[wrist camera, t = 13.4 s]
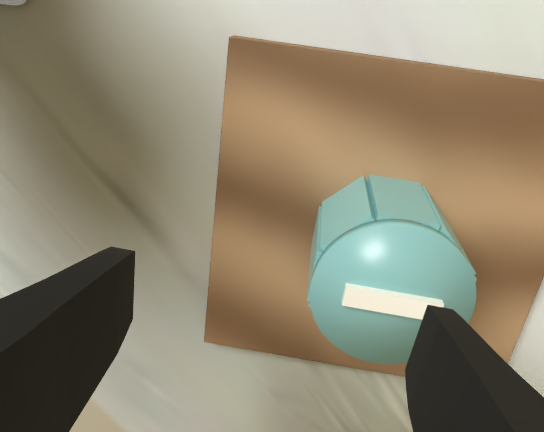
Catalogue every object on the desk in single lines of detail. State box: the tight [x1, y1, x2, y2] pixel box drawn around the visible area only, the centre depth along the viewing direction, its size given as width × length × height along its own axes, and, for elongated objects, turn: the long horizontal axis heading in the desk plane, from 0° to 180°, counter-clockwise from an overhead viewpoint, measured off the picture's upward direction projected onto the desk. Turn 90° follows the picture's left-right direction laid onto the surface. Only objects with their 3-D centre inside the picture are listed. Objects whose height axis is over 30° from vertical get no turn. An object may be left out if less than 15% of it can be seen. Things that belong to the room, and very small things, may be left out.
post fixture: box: [204, 36, 544, 376], centre depth 19 cm, size 14×14×4 cm
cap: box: [307, 174, 477, 364], centre depth 18 cm, size 5×5×5 cm
